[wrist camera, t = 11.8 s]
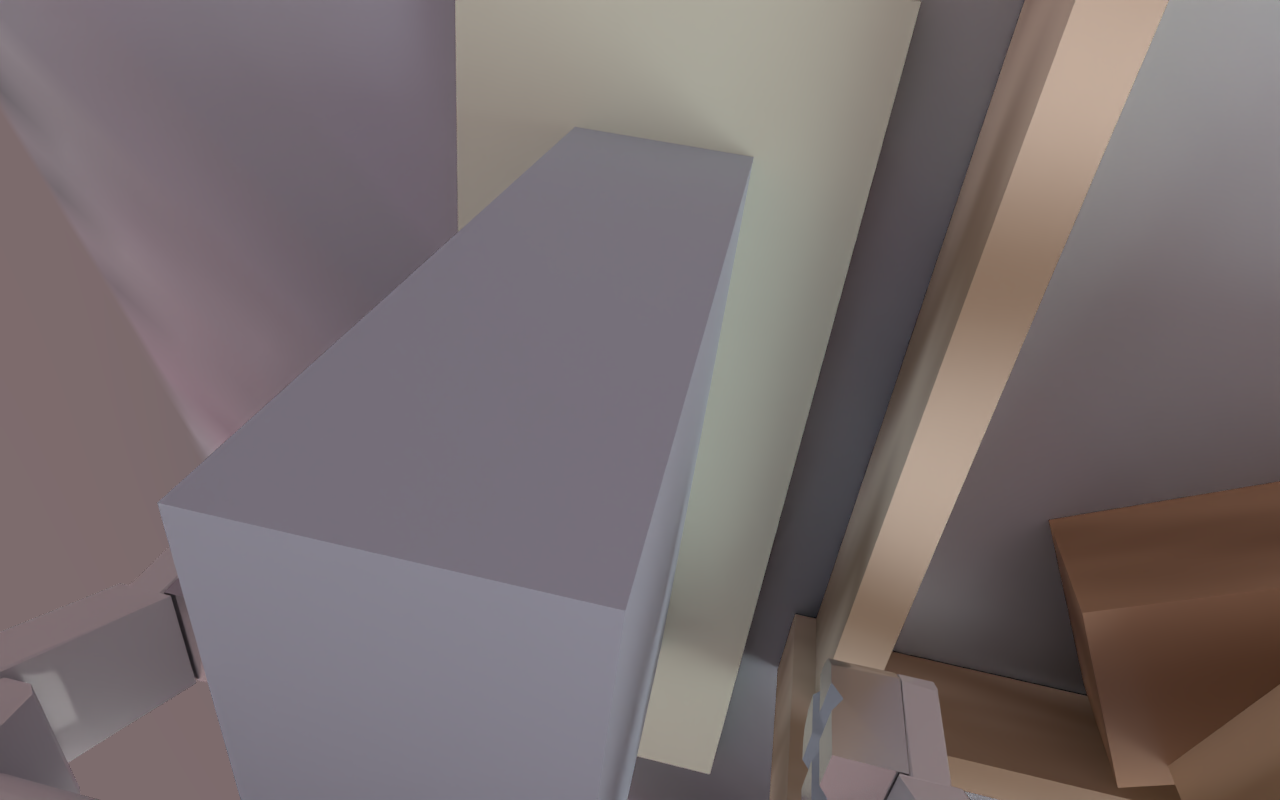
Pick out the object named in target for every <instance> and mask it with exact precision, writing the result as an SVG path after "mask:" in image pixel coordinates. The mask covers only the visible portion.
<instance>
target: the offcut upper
mask: <svg viewBox="0 0 1280 800" xmlns="http://www.w3.org/2000/svg"><path fill="white" fill-rule="evenodd" d="M1168 768H1169V770H1170V773H1171V775H1172V778H1173V780H1174V783H1175V785H1176V788H1177V790H1178V793H1179V795H1180V798H1181V800H1280V684H1279V685H1278V686H1277V687H1275V688H1274V689H1273V690H1271V691H1270V692H1268V693H1267V694H1266V695H1264V696H1263V697H1262V698H1260V699H1259V700H1258V701H1256V702H1255V703H1253V704H1252V705H1251V706H1249V707H1248V708H1247V709H1245V710H1244V711H1242V712H1241V713H1240V714H1238V715H1237V716H1236V717H1234V718H1233V719H1232V720H1230V721H1229V722H1227V723H1226V724H1225V725H1223V726H1222V727H1221V728H1219V729H1218V730H1217V731H1215V732H1214V733H1212V734H1211V735H1210V736H1208V737H1207V738H1206V739H1204V740H1203V741H1201V742H1200V743H1199V744H1197V745H1196V746H1195V747H1193V748H1192V749H1191V750H1189V751H1188V752H1186V753H1185V754H1184V755H1182V756H1181V757H1180V758H1178V759H1177V760H1175V761H1174V762H1173V763H1171V764H1170V765H1169V766H1168Z"/></svg>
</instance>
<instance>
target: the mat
mask: <svg viewBox="0 0 1280 800" xmlns="http://www.w3.org/2000/svg"><path fill="white" fill-rule="evenodd" d="M920 5H921V1H920V0H455V34H456V117H457V200H458V232H459V231H460V230H461V229H462V228H463V227H464V226H465V225H466V224H468V223H469V222H470V221H471V220H472V219H473V218H474V217H475V216H476V215H478V214H479V213H480V212H481V211H482V210H483V209H484V208H485V207H486V206H488V205H489V204H490V203H491V202H492V201H493V200H494V199H495V198H496V197H498V196H499V195H500V194H501V193H502V192H503V191H504V190H505V189H506V188H508V187H509V186H510V185H511V184H512V183H513V182H514V181H515V180H516V179H518V178H519V177H520V176H521V175H522V174H523V173H524V172H525V171H526V170H528V169H529V168H530V167H531V166H532V165H533V164H534V163H535V162H536V161H538V160H539V159H540V158H541V157H542V156H543V155H544V154H545V153H546V152H548V151H549V150H550V149H551V148H552V147H553V146H554V145H555V144H556V143H558V142H559V141H560V140H561V139H562V138H563V137H564V136H565V135H566V134H568V133H569V132H570V131H571V130H572V129H573V128H574V127H579V128H585V129H591V130H597V131H603V132H609V133H615V134H620V135H626V136H632V137H638V138H644V139H650V140H656V141H662V142H668V143H674V144H680V145H686V146H692V147H698V148H704V149H710V150H715V151H721V152H727V153H733V154H739V155H745V156H751V157H754V158H753V163H752V169H751V174H750V179H749V185H748V190H747V195H746V200H745V206H744V211H743V216H742V222H741V227H740V232H739V237H738V243H737V248H736V253H735V259H734V264H733V269H732V275H731V280H730V285H729V290H728V296H727V301H726V306H725V312H724V317H723V322H722V327H721V333H720V338H719V343H718V349H717V354H716V359H715V364H714V370H713V375H712V380H711V386H710V391H709V396H708V401H707V407H706V412H705V417H704V423H703V428H702V433H701V438H700V444H699V449H698V454H697V460H696V465H695V470H694V475H693V481H692V486H691V491H690V497H689V502H688V507H687V513H686V518H685V523H684V528H683V534H682V539H681V544H680V550H679V555H678V560H677V565H676V571H675V576H674V581H673V587H672V592H671V597H670V602H669V608H668V613H667V618H666V624H665V629H664V634H663V639H662V645H661V650H660V654H659V659H658V663H657V668H656V672H655V677H654V681H653V686H652V691H651V695H650V700H649V704H648V709H647V713H646V718H645V722H644V727H643V731H642V736H641V740H640V745H639V749H638V754H637V756H638V757H642V758H646V759H650V760H654V761H658V762H662V763H666V764H670V765H674V766H678V767H682V768H686V769H690V770H694V771H698V772H702V773H706V774H710V772H711V768H712V764H713V761H714V757H715V754H716V750H717V746H718V743H719V739H720V735H721V732H722V728H723V724H724V721H725V717H726V713H727V710H728V706H729V702H730V699H731V695H732V691H733V688H734V684H735V680H736V677H737V673H738V670H739V666H740V662H741V659H742V655H743V651H744V648H745V644H746V640H747V637H748V633H749V629H750V626H751V622H752V618H753V615H754V611H755V607H756V604H757V600H758V596H759V593H760V589H761V586H762V582H763V578H764V575H765V571H766V567H767V564H768V560H769V556H770V553H771V549H772V545H773V542H774V538H775V534H776V531H777V527H778V523H779V520H780V516H781V512H782V509H783V505H784V502H785V498H786V494H787V491H788V487H789V483H790V480H791V476H792V472H793V469H794V465H795V461H796V458H797V454H798V450H799V447H800V443H801V439H802V436H803V432H804V428H805V425H806V421H807V418H808V414H809V410H810V407H811V403H812V399H813V396H814V392H815V388H816V385H817V381H818V377H819V374H820V370H821V366H822V363H823V359H824V355H825V352H826V348H827V344H828V341H829V337H830V334H831V330H832V326H833V323H834V319H835V315H836V312H837V308H838V304H839V301H840V297H841V293H842V290H843V286H844V282H845V279H846V275H847V271H848V268H849V264H850V260H851V257H852V253H853V250H854V246H855V242H856V239H857V235H858V231H859V228H860V224H861V220H862V217H863V213H864V209H865V206H866V202H867V198H868V195H869V191H870V187H871V184H872V180H873V176H874V173H875V169H876V166H877V162H878V158H879V155H880V151H881V147H882V144H883V140H884V136H885V133H886V129H887V125H888V122H889V118H890V114H891V111H892V107H893V103H894V100H895V96H896V92H897V89H898V85H899V82H900V78H901V74H902V71H903V67H904V63H905V60H906V56H907V52H908V49H909V45H910V41H911V38H912V34H913V30H914V27H915V23H916V19H917V16H918V12H919V8H920Z"/></svg>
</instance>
